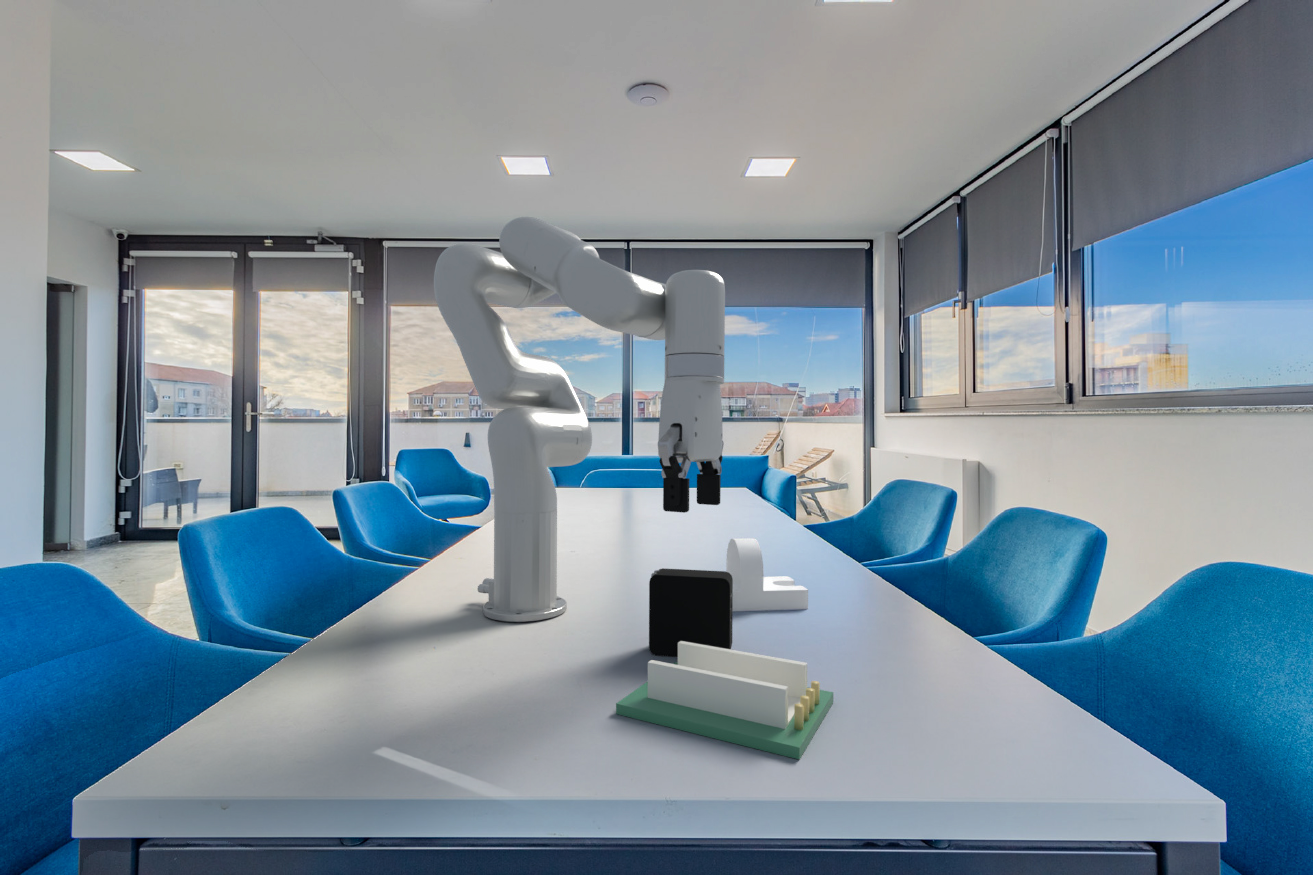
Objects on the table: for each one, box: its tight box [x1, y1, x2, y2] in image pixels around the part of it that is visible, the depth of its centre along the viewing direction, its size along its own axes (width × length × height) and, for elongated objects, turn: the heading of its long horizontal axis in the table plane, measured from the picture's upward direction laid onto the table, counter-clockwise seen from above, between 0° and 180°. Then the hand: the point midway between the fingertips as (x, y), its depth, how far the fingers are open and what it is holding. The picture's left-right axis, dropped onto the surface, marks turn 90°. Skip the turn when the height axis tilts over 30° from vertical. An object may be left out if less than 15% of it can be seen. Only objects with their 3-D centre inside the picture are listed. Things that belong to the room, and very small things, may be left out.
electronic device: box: [648, 568, 733, 658], centre depth 78 cm, size 4×10×10 cm, turn 78°
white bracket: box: [725, 538, 809, 612], centre depth 101 cm, size 18×10×11 cm, turn 96°
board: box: [615, 641, 834, 760], centre depth 62 cm, size 18×13×4 cm
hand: (693, 507), depth 78 cm, fingers open, 9 cm apart
